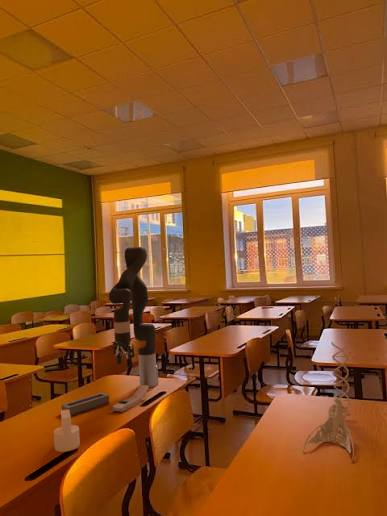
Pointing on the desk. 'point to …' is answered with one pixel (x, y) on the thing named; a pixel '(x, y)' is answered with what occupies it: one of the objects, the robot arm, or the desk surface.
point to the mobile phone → (131, 400)
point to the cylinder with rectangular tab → (66, 434)
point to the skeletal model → (333, 428)
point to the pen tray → (86, 403)
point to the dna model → (340, 376)
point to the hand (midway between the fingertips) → (124, 365)
